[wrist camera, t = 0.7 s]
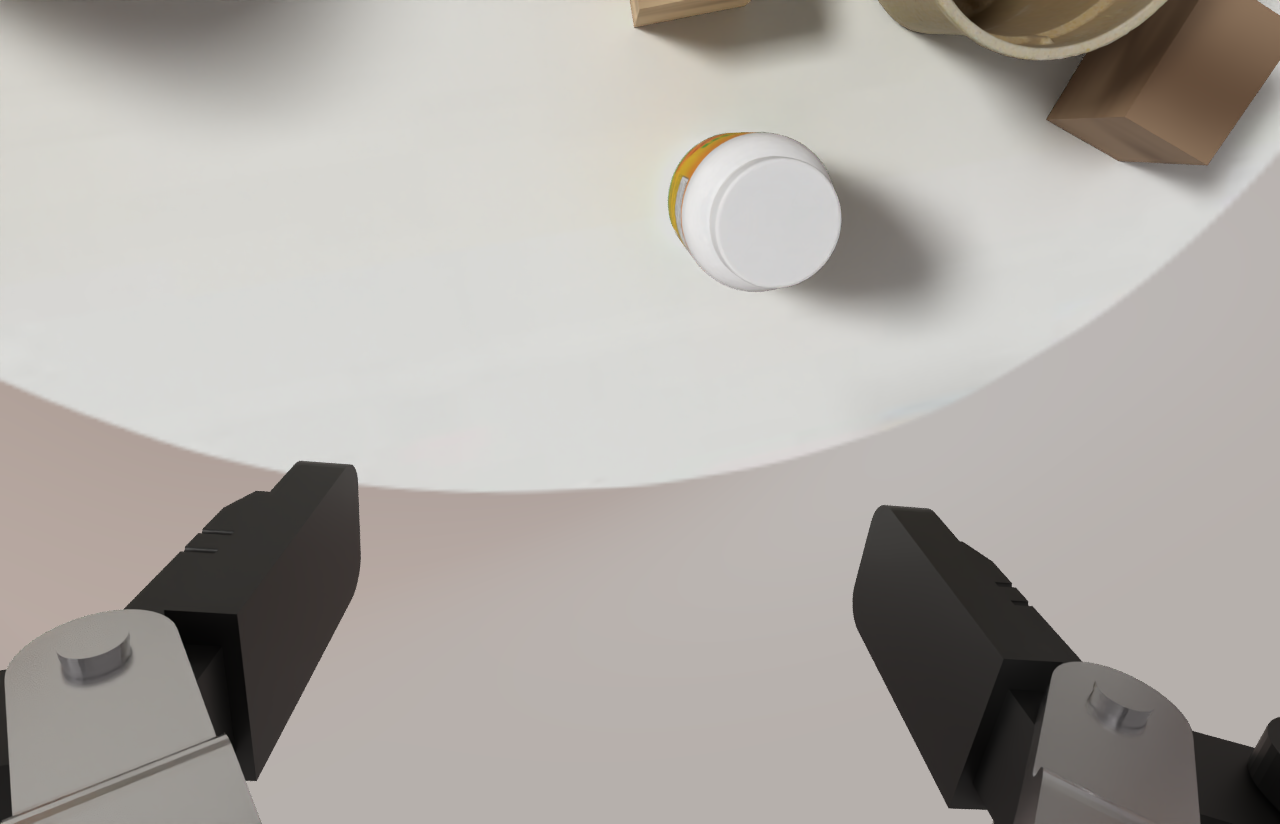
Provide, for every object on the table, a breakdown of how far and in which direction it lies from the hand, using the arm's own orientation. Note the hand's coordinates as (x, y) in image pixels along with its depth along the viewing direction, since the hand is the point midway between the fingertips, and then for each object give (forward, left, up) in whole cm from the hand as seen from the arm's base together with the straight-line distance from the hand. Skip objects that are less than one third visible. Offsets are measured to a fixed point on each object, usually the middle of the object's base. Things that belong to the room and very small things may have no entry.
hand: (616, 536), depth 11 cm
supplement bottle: (-4, +5, -23) cm, 24 cm away
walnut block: (-10, +21, -23) cm, 32 cm away
